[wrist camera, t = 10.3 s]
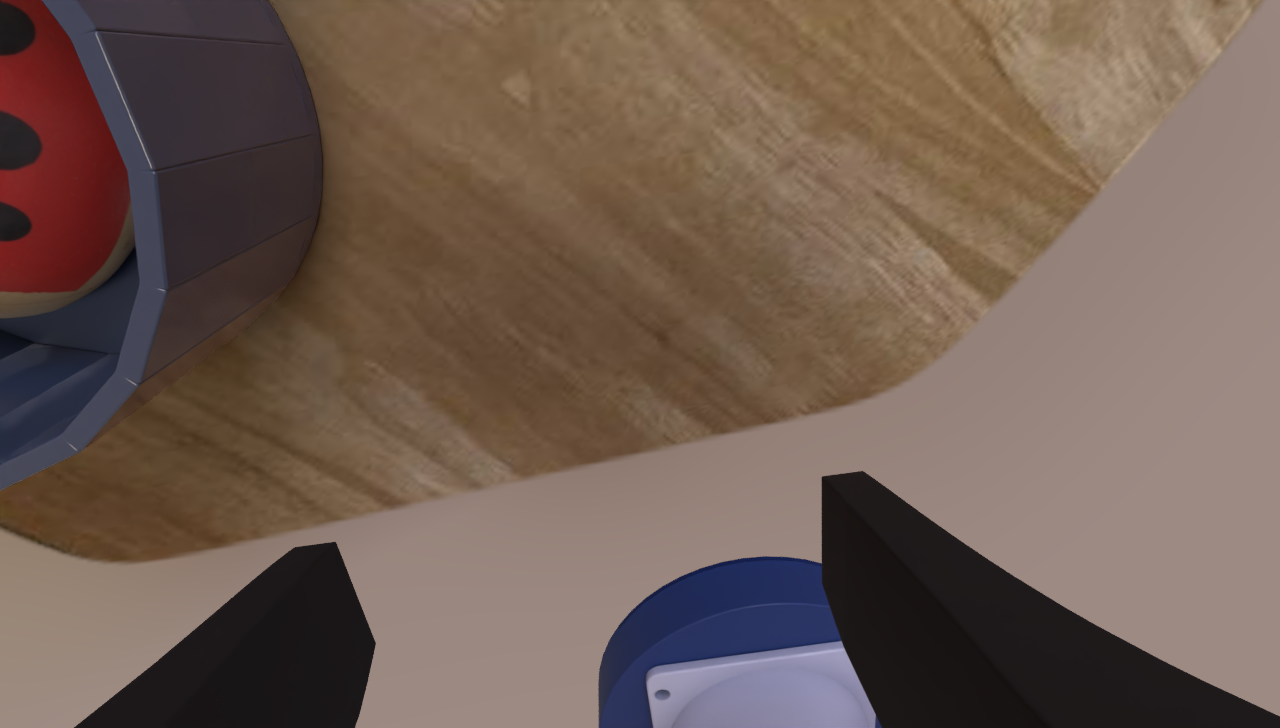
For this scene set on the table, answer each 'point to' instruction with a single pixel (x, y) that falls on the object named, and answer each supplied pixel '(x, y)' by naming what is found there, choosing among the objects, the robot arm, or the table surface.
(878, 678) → the robot arm
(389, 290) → the table surface
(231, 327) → the round open container
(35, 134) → the ladybug figurine
